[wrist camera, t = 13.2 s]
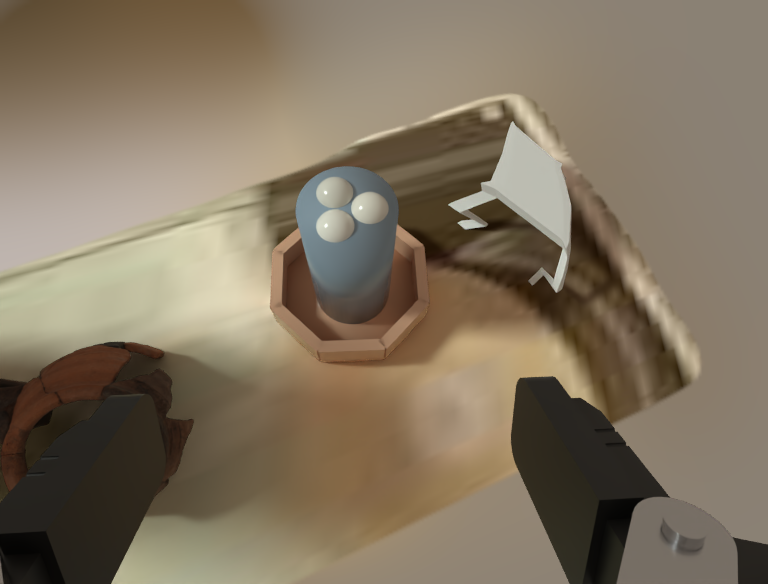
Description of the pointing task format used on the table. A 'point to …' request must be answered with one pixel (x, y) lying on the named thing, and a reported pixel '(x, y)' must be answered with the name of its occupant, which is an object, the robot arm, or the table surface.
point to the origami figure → (528, 196)
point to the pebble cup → (349, 241)
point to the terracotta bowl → (340, 340)
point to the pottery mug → (83, 382)
